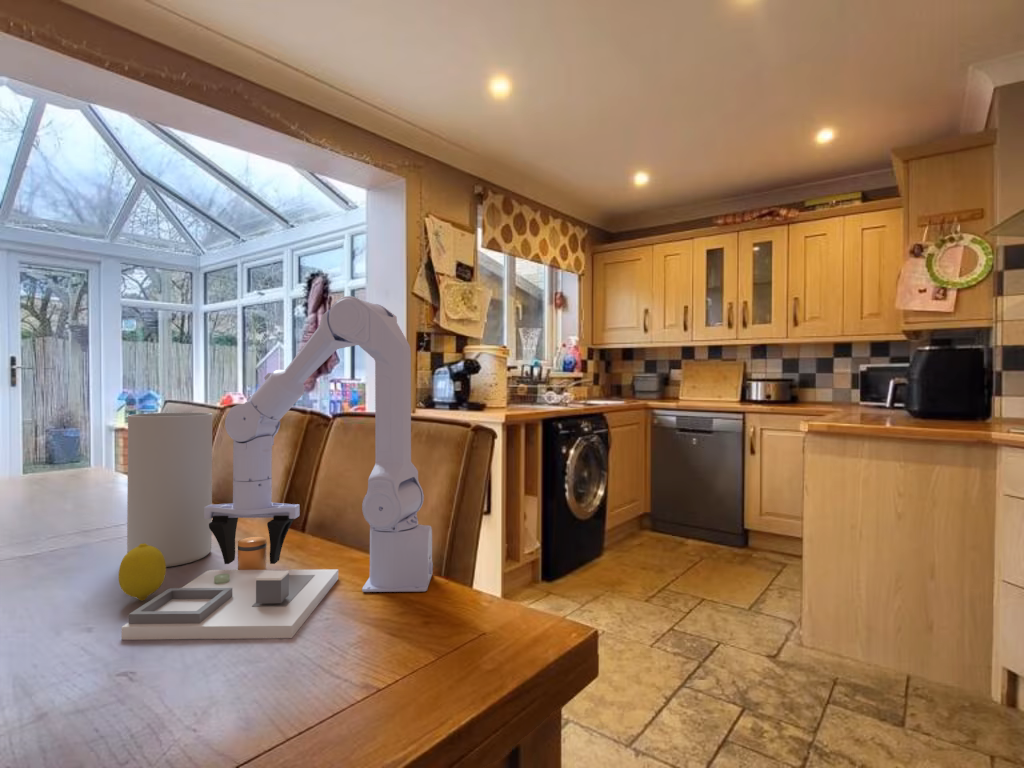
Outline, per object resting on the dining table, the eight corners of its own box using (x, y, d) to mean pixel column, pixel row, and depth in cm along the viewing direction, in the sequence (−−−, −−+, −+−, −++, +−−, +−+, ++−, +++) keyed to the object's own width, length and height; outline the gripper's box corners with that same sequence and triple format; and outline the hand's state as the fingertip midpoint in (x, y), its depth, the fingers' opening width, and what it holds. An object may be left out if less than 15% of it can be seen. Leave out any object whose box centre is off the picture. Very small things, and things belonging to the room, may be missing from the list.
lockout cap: (270, 566, 92) (270, 536, 92) (259, 575, 88) (260, 544, 88) (244, 566, 92) (245, 536, 92) (232, 575, 87) (232, 544, 87)
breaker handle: (288, 595, 74) (288, 570, 74) (280, 603, 72) (281, 577, 72) (264, 595, 74) (265, 570, 74) (255, 603, 72) (256, 578, 72)
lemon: (142, 610, 74) (142, 550, 74) (108, 606, 75) (108, 547, 75) (175, 594, 79) (175, 539, 79) (142, 591, 81) (143, 536, 81)
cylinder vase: (109, 563, 93) (110, 415, 93) (179, 543, 104) (180, 411, 104) (160, 574, 88) (161, 417, 88) (227, 551, 100) (228, 413, 99)
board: (338, 578, 86) (338, 561, 86) (291, 638, 66) (291, 615, 66) (208, 579, 86) (208, 562, 86) (121, 639, 66) (121, 617, 66)
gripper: (306, 474, 94) (305, 554, 94) (219, 474, 93) (219, 554, 93) (290, 482, 87) (290, 568, 87) (197, 482, 86) (196, 568, 86)
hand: (252, 562), depth 90 cm, fingers open, 7 cm apart
